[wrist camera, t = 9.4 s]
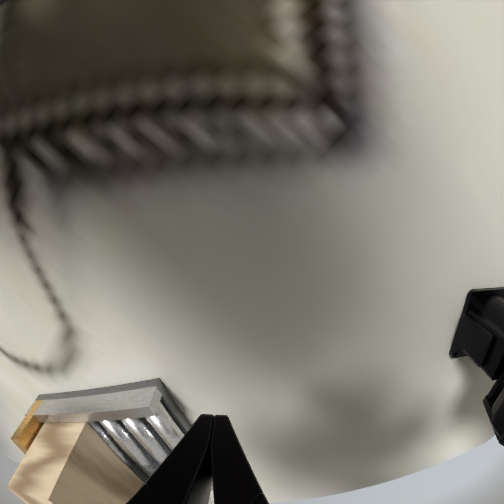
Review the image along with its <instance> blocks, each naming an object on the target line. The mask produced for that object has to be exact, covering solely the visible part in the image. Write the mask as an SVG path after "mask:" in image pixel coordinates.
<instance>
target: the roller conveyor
mask: <svg viewBox="0 0 504 504" xmlns="http://www.w3.org/2000/svg"><path fill="white" fill-rule="evenodd" d="M25 416H26V417H25V418H24V420H23V421H22V422H21V424H20V425H19V427H18V428H17V430H16V431H15V433H14V434H13V436H12V437H11V439H12V440H13V442H14V443H15V444H16V445H17V446H18V447H19V448H20V449H21V450H22V451H23V452H24V453H25V454H26V453H27V451H28V449H29V448H30V446H31V444H32V443H33V441H34V439H35V438H36V436H37V434H38V433H39V431H40V430H41V428H42V426H43V425H44V423H66V422H88V424H89V425H90V426H91V427H92V428H93V430H94V431H95V432H96V433H97V434H98V435H99V437H100V438H101V439H102V440H103V441H104V442H105V443H106V444H107V446H108V447H109V448H110V449H111V450H112V451H113V452H114V453H115V454H116V455H117V456H118V457H119V458H120V459H121V460H122V461H123V463H124V464H125V465H126V466H127V467H128V468H129V469H130V470H132V471H133V472H134V473H135V474H136V475H137V476H138V477H139V478H140V479H141V480H142V481H143V482H144V483H145V482H146V481H147V480H148V479H149V478H150V476H151V475H152V474H153V473H154V472H155V470H156V469H157V468H158V467H159V466H160V464H161V463H162V462H163V461H164V460H165V458H166V457H167V456H168V455H169V454H170V452H171V451H172V450H173V449H174V447H175V446H176V445H177V444H178V443H179V441H180V440H181V439H182V438H183V436H184V435H185V434H186V433H187V431H188V430H189V429H190V427H191V425H190V424H189V423H188V421H187V420H186V418H185V417H184V415H183V414H182V412H181V411H180V410H179V408H178V407H177V405H176V404H175V402H174V401H173V399H172V398H171V396H170V394H169V393H168V391H167V390H166V388H165V387H164V385H163V384H162V382H161V380H160V379H159V378H157V379H152V380H146V381H141V382H135V383H129V384H123V385H117V386H111V387H104V388H97V389H89V390H82V391H73V392H64V393H55V394H44V395H39V396H38V397H37V398H36V400H35V401H34V403H33V404H32V405H31V407H30V408H29V409H28V411H27V412H26V414H25ZM145 484H146V483H145ZM211 490H213V481H212V486H211Z"/></svg>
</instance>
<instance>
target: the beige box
mask: <svg viewBox="0 0 504 504" xmlns="http://www.w3.org/2000/svg"><path fill="white" fill-rule="evenodd" d="M143 484H145V483H144V482H143V481H142V480H141V479H140V478H139V477H138V476H137V475H136V474H135V473H134V472H133V471H132V470H130V469H129V468H128V467H127V466H126V465H125V464H124V463H123V461H122V460H121V459H120V458H119V457H118V456H117V455H116V454H115V453H114V452H113V451H112V450H111V449H110V448H109V447H108V446H107V444H106V443H105V442H104V441H103V440H102V439H101V438H100V437H99V435H98V434H97V433H96V432H95V431H94V430H93V428H92V427H91V426H90V425H89V424H88V422H66V423H44V425H43V426H42V428H41V430H40V431H39V433H38V434H37V436H36V438H35V439H34V441H33V443H32V444H31V446H30V448H29V449H28V451H27V453H26V454H25V456H24V458H23V459H22V461H21V463H20V465H19V466H18V468H17V470H16V472H15V473H14V475H13V477H12V479H11V481H10V482H9V484H8V486H7V487H8V488H9V489H10V490H11V491H12V492H13V493H15V494H16V495H17V496H18V497H19V498H20V499H22V500H23V501H24V502H25V503H26V504H126V503H127V502H128V501H129V500H130V499H131V498H132V497H133V496H134V495H135V493H136V492H137V491H138V490H139V489H140V488H141V487H142V486H143Z"/></svg>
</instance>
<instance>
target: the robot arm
mask: <svg viewBox="0 0 504 504" xmlns="http://www.w3.org/2000/svg"><path fill="white" fill-rule="evenodd" d="M472 296H473V297H472ZM450 356H451V357H452V358H458V357H463V356H468V357H469V358H470V359H471V360H472V361H473V362H474V363H475V364H476V365H477V366H478V367H481V368H482V370H483V371H484V372H485V373H486V374H487V375H488V376H489V377H490V378H491V379H492V380H496V382H495V384H494V385H493V387H492V389H491V390H490V392H489V393H488V395H486V396H485V398H484V399H483V403H484V406H485V408H486V411H487V414H488V416H489V419H490V421H491V424H492V427H493V430H494V433H495V435H496V437H497V439H498V441H499V443H500V444H501V445H503V446H504V287H499V288H484V289H472V290H470V291H469V293H468V295H467V299H466V303H465V306H464V310H463V313H462V317H461V320H460V323H459V326H458V330H457V333H456V336H455V339H454V342H453V345H452V347H451V350H450ZM212 481H213V493H214V504H269V503H268V501H267V499H266V497H265V495H264V494H263V491H262V489H261V487H260V485H259V483H258V481H257V479H256V477H255V475H254V473H253V471H252V469H251V467H250V464H249V462H248V460H247V458H246V456H245V454H244V451H243V449H242V447H241V445H240V443H239V440H238V438H237V436H236V434H235V431H234V429H233V427H232V424H231V422H230V420H229V417H228V416H227V415H215V416H214V415H211V414H201V415H200V416H199V417H198V419H197V420H196V421H195V422H194V424H193V425H192V426H191V427H190V429H189V430H188V431H187V433H186V434H185V435H184V436H183V438H182V439H181V440H180V441H179V443H178V444H177V445H176V446H175V447H174V449H173V450H172V451H171V452H170V454H169V455H168V456H167V457H166V458H165V460H164V461H163V462H162V463H161V464H160V466H159V467H158V468H157V469H156V470H155V472H154V473H153V474H152V475H151V476H150V478H149V479H148V480H147V481H146V482H145V483H146V484H143V486H142V487H141V488H140V489H139V490H138V491H137V492H136V493H135V495H134V496H133V497H132V498H131V499H130V500H129V501H128V502H127V503H126V504H208V501H209V496H210V491H211V486H212Z"/></svg>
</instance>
